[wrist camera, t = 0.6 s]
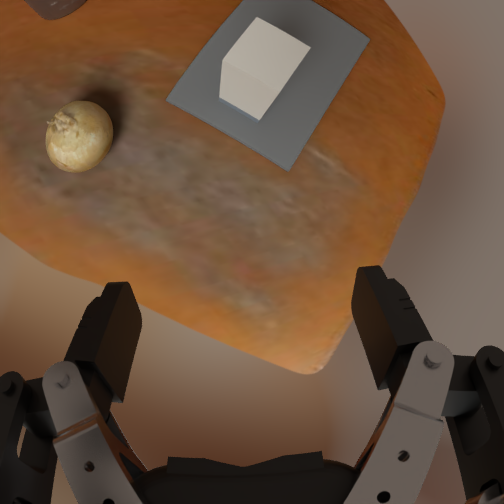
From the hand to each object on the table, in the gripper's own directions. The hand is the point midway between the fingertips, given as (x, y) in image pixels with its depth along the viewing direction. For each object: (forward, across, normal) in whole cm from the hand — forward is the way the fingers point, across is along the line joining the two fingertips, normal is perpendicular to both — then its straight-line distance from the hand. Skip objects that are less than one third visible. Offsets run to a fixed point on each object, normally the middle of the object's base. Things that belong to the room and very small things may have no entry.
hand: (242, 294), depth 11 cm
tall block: (+28, -1, -4) cm, 29 cm away
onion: (+26, +18, -1) cm, 31 cm away
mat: (+31, -5, -8) cm, 32 cm away
